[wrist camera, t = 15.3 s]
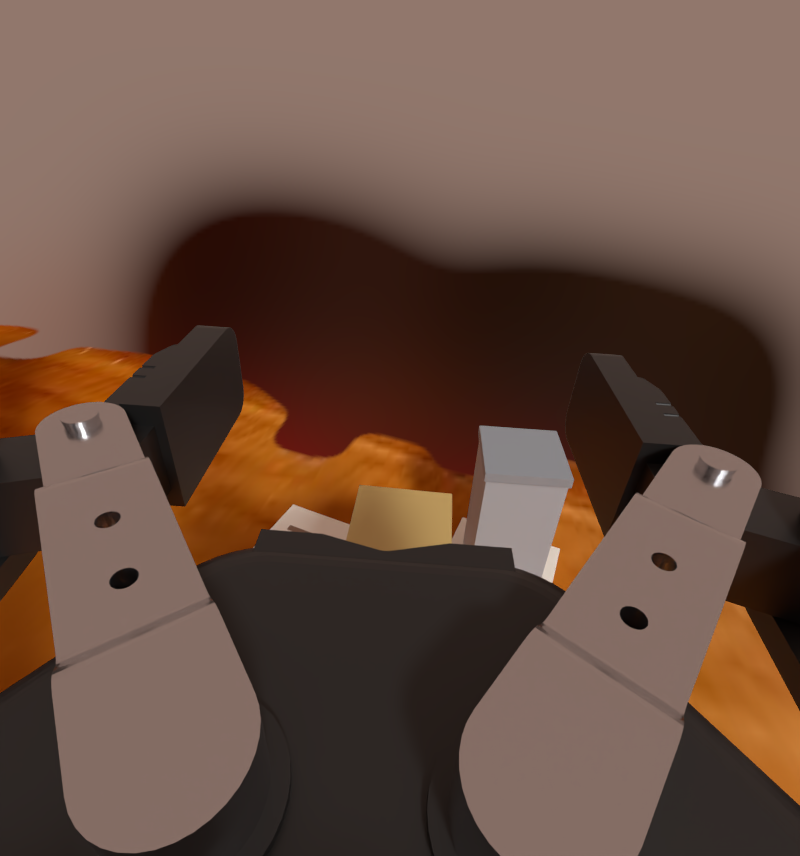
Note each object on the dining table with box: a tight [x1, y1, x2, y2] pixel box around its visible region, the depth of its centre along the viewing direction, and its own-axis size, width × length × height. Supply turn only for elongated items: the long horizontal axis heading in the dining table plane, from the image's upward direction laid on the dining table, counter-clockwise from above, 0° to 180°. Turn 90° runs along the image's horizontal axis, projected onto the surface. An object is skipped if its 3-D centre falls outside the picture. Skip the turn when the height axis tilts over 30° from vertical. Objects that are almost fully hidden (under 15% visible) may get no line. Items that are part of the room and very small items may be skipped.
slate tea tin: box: [463, 426, 574, 578], centre depth 39 cm, size 6×6×12 cm
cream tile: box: [253, 504, 350, 548], centre depth 43 cm, size 9×9×1 cm
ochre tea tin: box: [346, 485, 452, 551], centre depth 32 cm, size 6×6×12 cm
